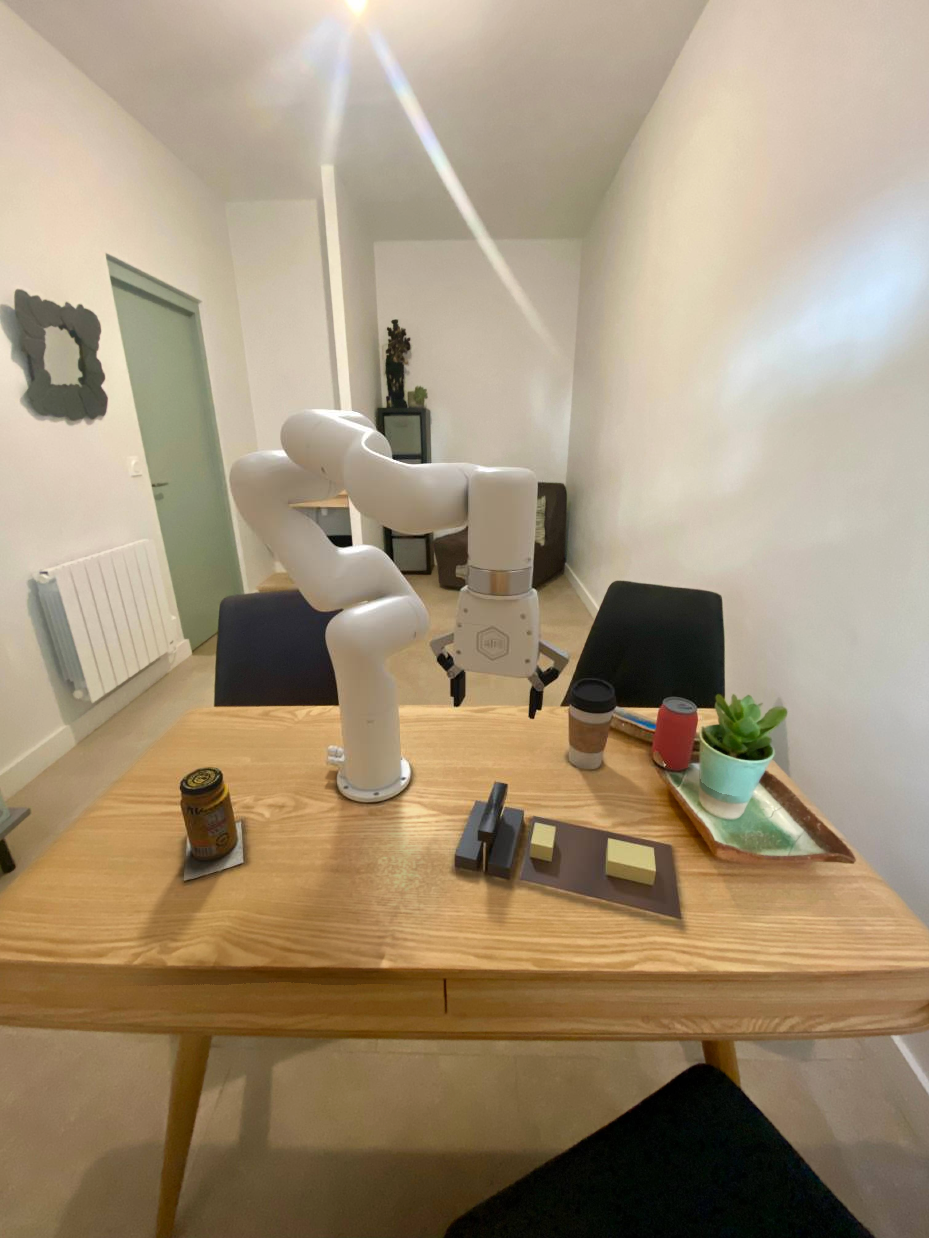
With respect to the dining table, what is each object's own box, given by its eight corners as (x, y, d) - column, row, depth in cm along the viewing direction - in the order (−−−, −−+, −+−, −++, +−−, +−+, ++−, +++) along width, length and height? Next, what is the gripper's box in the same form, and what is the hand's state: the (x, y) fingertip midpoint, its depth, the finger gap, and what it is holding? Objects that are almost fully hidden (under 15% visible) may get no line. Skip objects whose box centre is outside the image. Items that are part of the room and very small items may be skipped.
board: (518, 884, 64) (519, 878, 64) (532, 820, 75) (532, 815, 74) (680, 925, 59) (681, 919, 58) (670, 849, 70) (671, 844, 69)
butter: (605, 874, 64) (607, 860, 63) (606, 851, 68) (608, 837, 67) (653, 885, 63) (656, 871, 62) (651, 861, 66) (653, 847, 66)
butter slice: (529, 856, 67) (530, 842, 66) (534, 835, 71) (535, 822, 70) (551, 861, 66) (552, 847, 65) (554, 840, 70) (555, 826, 69)
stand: (454, 871, 66) (454, 854, 65) (475, 815, 76) (475, 800, 75) (509, 885, 64) (510, 868, 63) (523, 825, 74) (524, 810, 73)
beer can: (692, 775, 85) (704, 716, 81) (653, 770, 86) (663, 712, 82) (684, 752, 91) (695, 697, 87) (647, 748, 92) (657, 693, 88)
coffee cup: (614, 755, 90) (624, 684, 85) (600, 780, 84) (609, 705, 78) (571, 741, 95) (578, 672, 89) (554, 763, 88) (561, 691, 83)
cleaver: (476, 874, 65) (477, 829, 63) (493, 822, 74) (494, 781, 72) (490, 878, 65) (492, 833, 62) (505, 825, 74) (507, 783, 71)
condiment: (241, 822, 74) (228, 757, 70) (243, 863, 67) (229, 793, 63) (187, 838, 71) (170, 771, 67) (183, 882, 64) (164, 810, 60)
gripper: (418, 581, 55) (421, 712, 61) (573, 594, 50) (560, 734, 56) (439, 565, 61) (441, 684, 67) (578, 576, 57) (566, 703, 63)
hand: (495, 707), depth 62 cm, fingers open, 9 cm apart
